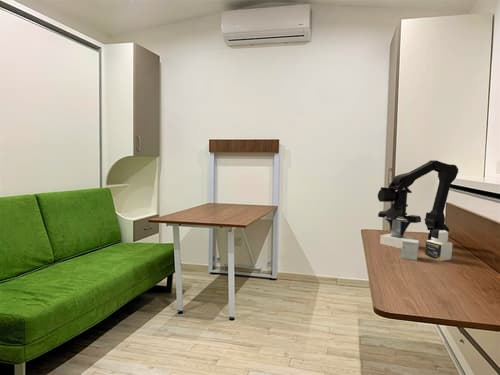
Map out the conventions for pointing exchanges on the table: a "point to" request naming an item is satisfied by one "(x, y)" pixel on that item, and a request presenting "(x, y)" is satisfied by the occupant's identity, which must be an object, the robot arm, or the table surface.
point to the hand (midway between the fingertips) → (397, 234)
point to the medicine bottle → (438, 246)
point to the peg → (397, 228)
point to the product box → (410, 249)
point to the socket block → (393, 240)
